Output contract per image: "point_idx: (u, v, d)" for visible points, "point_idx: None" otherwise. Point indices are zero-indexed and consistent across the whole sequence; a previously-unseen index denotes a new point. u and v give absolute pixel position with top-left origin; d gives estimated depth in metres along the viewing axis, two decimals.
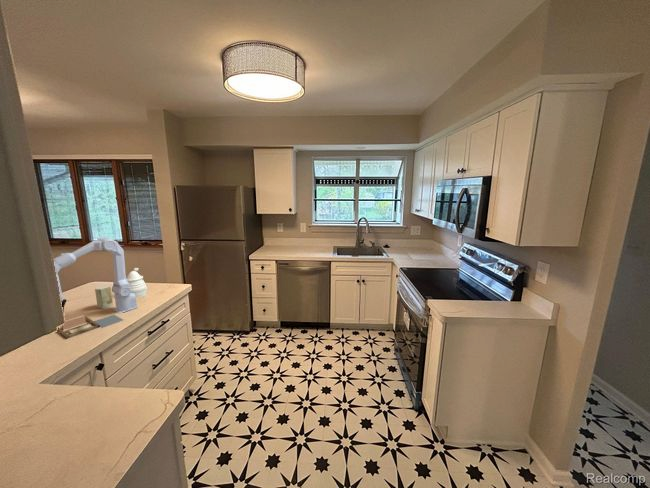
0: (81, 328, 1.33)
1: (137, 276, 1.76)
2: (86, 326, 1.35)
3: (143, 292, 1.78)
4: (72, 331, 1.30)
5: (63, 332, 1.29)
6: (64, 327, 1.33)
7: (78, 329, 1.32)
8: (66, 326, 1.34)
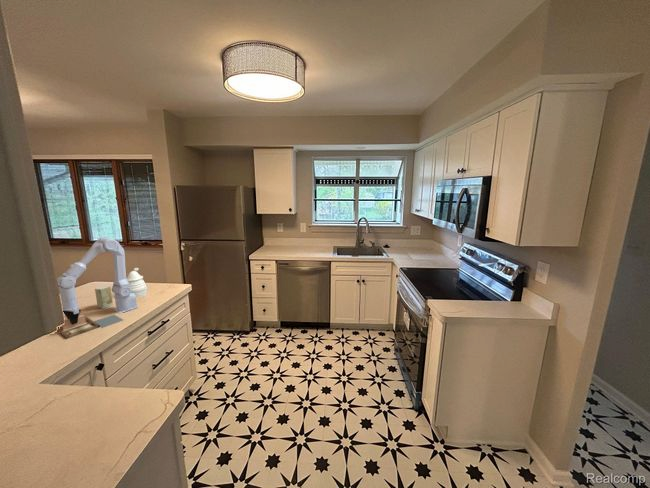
0: (81, 328, 1.33)
1: (137, 276, 1.76)
2: (86, 326, 1.35)
3: (143, 292, 1.78)
4: (72, 331, 1.30)
5: (63, 332, 1.29)
6: (64, 327, 1.33)
7: (78, 329, 1.32)
8: (66, 325, 1.34)
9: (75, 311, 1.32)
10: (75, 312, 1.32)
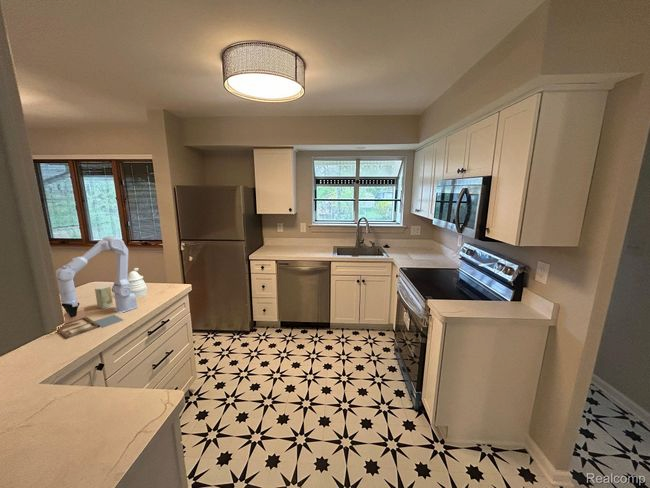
0: (81, 328, 1.33)
1: (137, 276, 1.76)
2: (86, 326, 1.35)
3: (143, 292, 1.78)
4: (72, 331, 1.30)
5: (63, 332, 1.29)
6: None
7: (78, 329, 1.32)
8: (65, 319, 1.33)
9: (74, 304, 1.31)
10: (74, 305, 1.31)
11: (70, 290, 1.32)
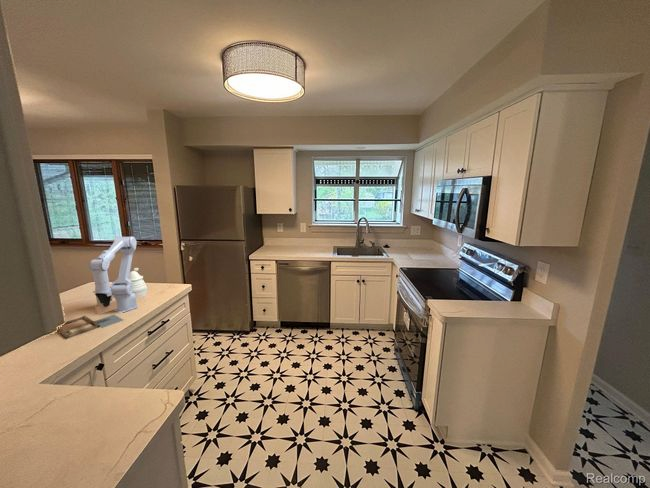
0: (81, 328, 1.33)
1: (137, 276, 1.76)
2: (86, 326, 1.35)
3: (143, 292, 1.78)
4: (72, 331, 1.30)
5: (63, 332, 1.29)
6: (98, 311, 1.38)
7: (78, 329, 1.32)
8: (99, 309, 1.38)
9: (108, 293, 1.36)
10: (108, 294, 1.36)
11: (107, 279, 1.39)
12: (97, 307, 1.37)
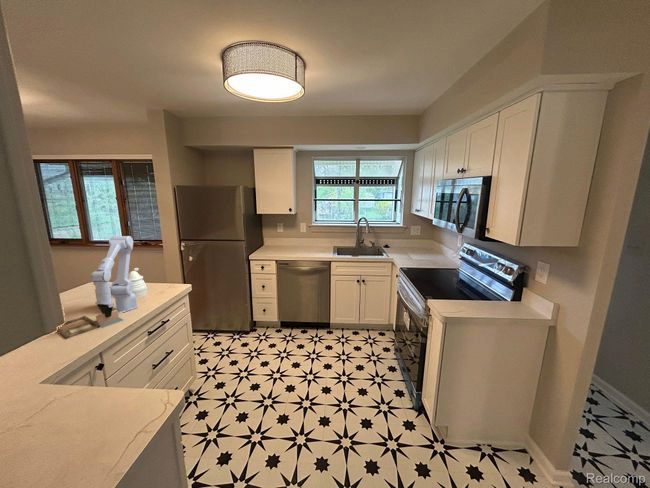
0: (81, 328, 1.33)
1: (137, 276, 1.76)
2: (86, 326, 1.35)
3: (143, 292, 1.78)
4: (72, 331, 1.30)
5: (63, 332, 1.29)
6: (99, 321, 1.39)
7: (78, 329, 1.32)
8: (101, 320, 1.39)
9: (110, 304, 1.37)
10: (110, 305, 1.37)
11: (109, 290, 1.40)
12: (98, 318, 1.38)
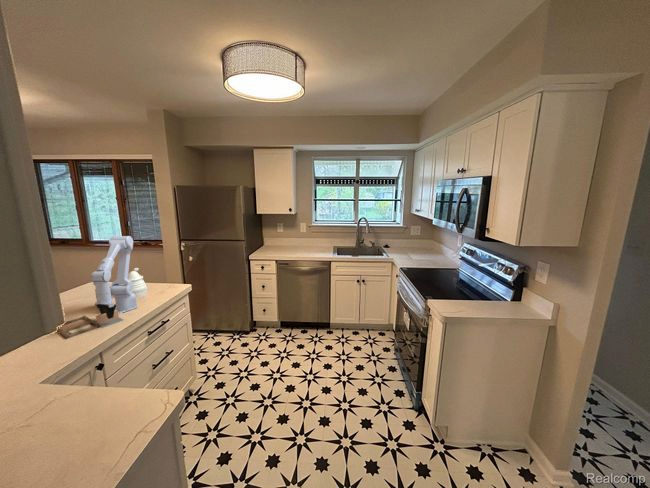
0: (81, 328, 1.33)
1: (137, 276, 1.76)
2: (86, 326, 1.35)
3: (143, 292, 1.78)
4: (72, 331, 1.30)
5: (63, 332, 1.29)
6: (99, 321, 1.39)
7: (78, 329, 1.32)
8: (101, 320, 1.39)
9: (110, 304, 1.37)
10: (110, 305, 1.37)
11: (109, 290, 1.40)
12: (98, 318, 1.38)
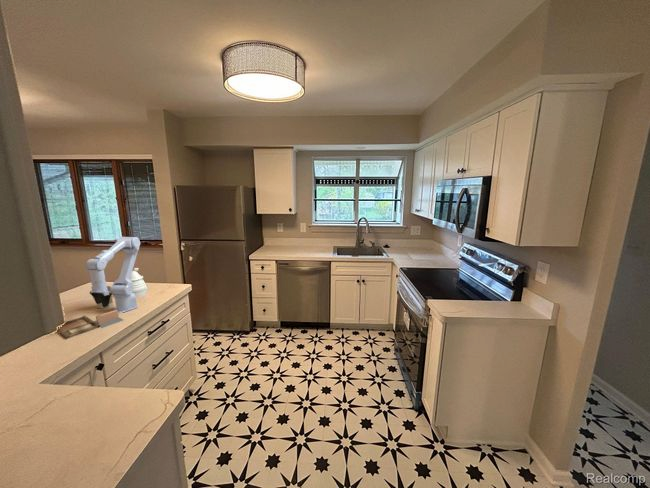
0: (81, 328, 1.33)
1: (137, 276, 1.76)
2: (86, 326, 1.35)
3: (143, 292, 1.78)
4: (72, 331, 1.30)
5: (63, 332, 1.29)
6: (99, 321, 1.39)
7: (78, 329, 1.32)
8: (101, 320, 1.39)
9: (105, 293, 1.36)
10: (105, 294, 1.36)
11: (103, 279, 1.39)
12: (98, 318, 1.38)
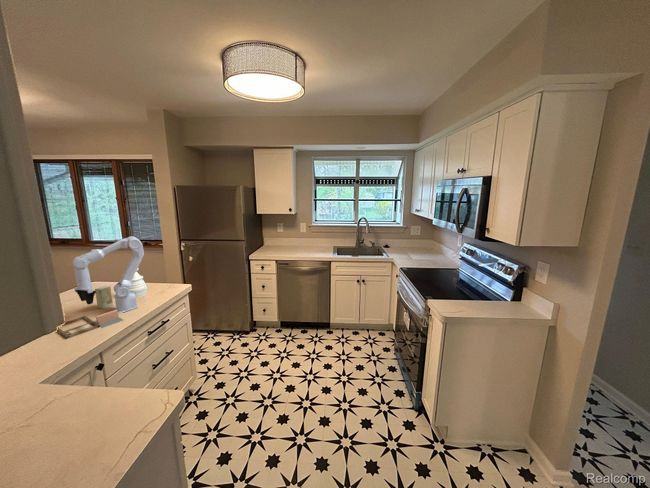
0: (81, 328, 1.33)
1: (137, 276, 1.76)
2: (85, 326, 1.35)
3: (143, 292, 1.78)
4: (72, 331, 1.30)
5: (63, 332, 1.29)
6: (99, 321, 1.39)
7: (78, 329, 1.32)
8: (101, 320, 1.39)
9: (89, 290, 1.39)
10: (89, 291, 1.39)
11: (83, 278, 1.40)
12: (98, 318, 1.38)
